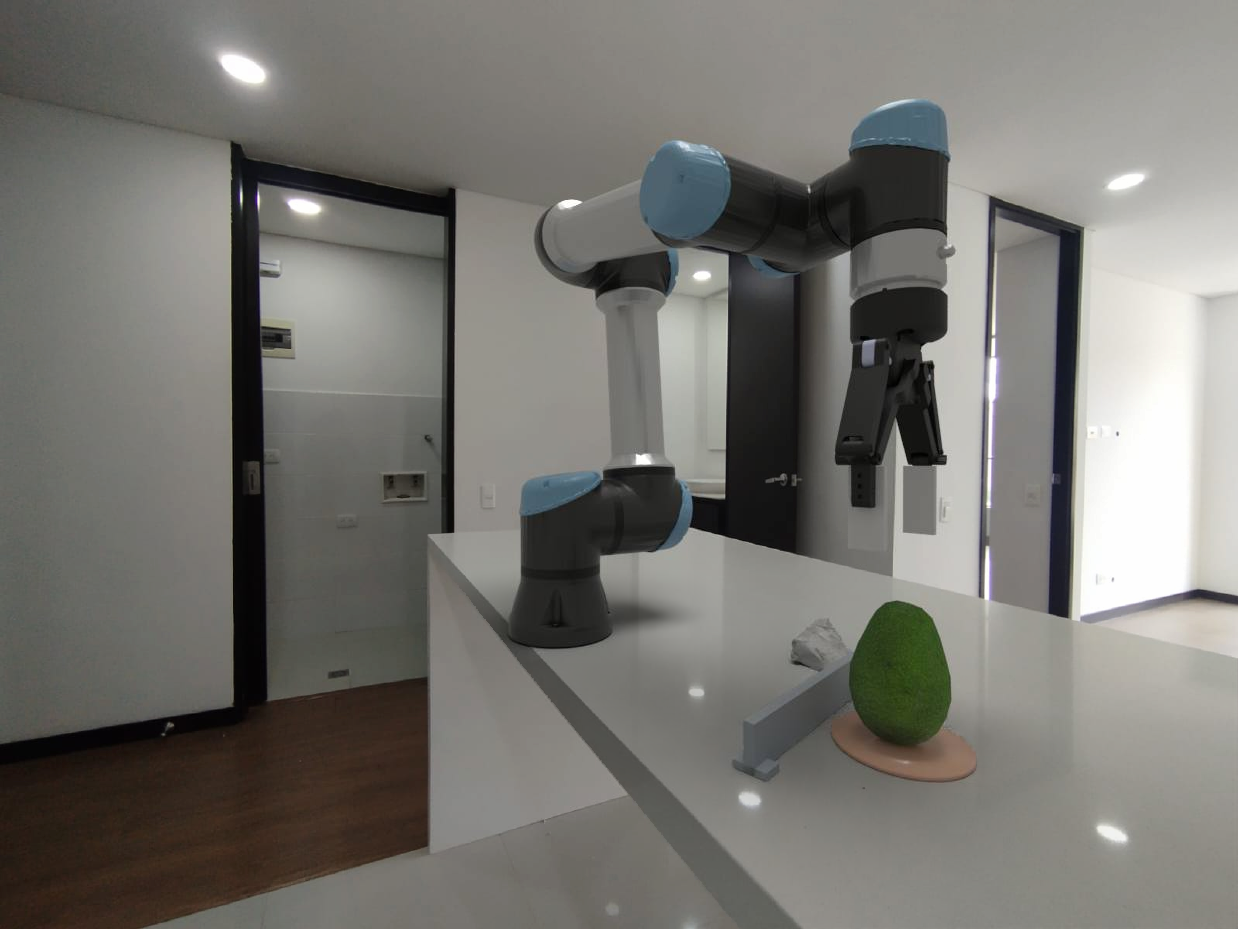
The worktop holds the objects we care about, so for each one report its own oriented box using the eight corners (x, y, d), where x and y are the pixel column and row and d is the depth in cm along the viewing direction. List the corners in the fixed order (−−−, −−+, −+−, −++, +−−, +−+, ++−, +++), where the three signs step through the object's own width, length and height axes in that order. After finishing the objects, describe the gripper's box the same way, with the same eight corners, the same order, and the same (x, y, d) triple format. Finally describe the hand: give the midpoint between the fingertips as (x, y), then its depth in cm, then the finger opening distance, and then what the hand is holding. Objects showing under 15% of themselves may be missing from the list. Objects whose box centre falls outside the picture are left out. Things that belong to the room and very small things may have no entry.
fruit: (964, 773, 41) (962, 616, 41) (852, 754, 44) (851, 607, 44) (941, 726, 48) (940, 594, 49) (846, 712, 51) (845, 587, 51)
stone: (868, 653, 70) (868, 621, 70) (841, 680, 60) (841, 643, 61) (818, 644, 74) (818, 614, 74) (785, 667, 64) (785, 633, 65)
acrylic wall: (732, 766, 43) (732, 716, 43) (842, 685, 58) (842, 649, 58) (766, 781, 41) (766, 729, 41) (871, 693, 56) (870, 655, 56)
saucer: (810, 745, 46) (810, 740, 46) (858, 704, 54) (858, 700, 54) (957, 800, 38) (957, 794, 38) (989, 743, 46) (989, 738, 46)
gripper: (896, 241, 35) (895, 566, 35) (979, 316, 53) (978, 531, 53) (788, 270, 40) (787, 552, 40) (897, 329, 58) (896, 525, 58)
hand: (896, 541), depth 46 cm, fingers open, 13 cm apart
